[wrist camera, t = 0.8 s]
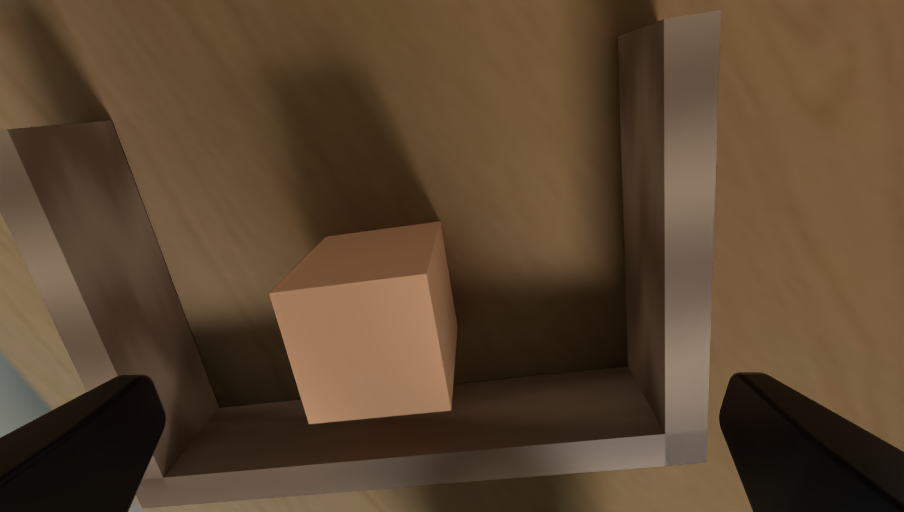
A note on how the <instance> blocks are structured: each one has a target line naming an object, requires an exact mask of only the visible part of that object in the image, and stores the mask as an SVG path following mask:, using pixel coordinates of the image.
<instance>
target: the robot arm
mask: <svg viewBox="0 0 904 512" xmlns="http://www.w3.org/2000/svg"><path fill="white" fill-rule="evenodd" d="M719 421H720V427H721V430H722V433H723V435H724V438H725V440H726V443H727V445H728V448H729V451H730V453H731V456H732V458H733V461H734V463H735V466H736V469H737V471H738V474H739V476H740V479H741V481H742V484H743V487H744V489H745V492H746V494H747V497H748V499H749V502H750V504H751V507H752V510H753V512H904V452H903V451H901V450H899V449H898V448H896V447H894V446H892V445H891V444H889V443H887V442H885V441H884V440H882V439H880V438H878V437H877V436H875V435H873V434H871V433H869V432H868V431H866V430H864V429H862V428H861V427H859V426H857V425H855V424H854V423H852V422H850V421H848V420H847V419H845V418H843V417H841V416H839V415H838V414H836V413H834V412H832V411H831V410H829V409H827V408H825V407H824V406H822V405H820V404H818V403H817V402H815V401H813V400H811V399H809V398H808V397H806V396H804V395H802V394H801V393H799V392H797V391H795V390H794V389H792V388H790V387H788V386H787V385H785V384H783V383H781V382H779V381H778V380H776V379H774V378H772V377H771V376H769V375H767V374H764V373H759V372H739V373H736V374H734V375H733V376H732V377H731V378H730V381H729V384H728V387H727V390H726V393H725V396H724V400H723V403H722V406H721V409H720V414H719ZM165 424H166V412H165V409H164V407H163V404H162V402H161V399H160V397H159V394H158V391H157V389H156V386H155V384H154V382H153V380H152V379H151V378H150V377H149V376H147V375H143V374H136V375H120V376H117V377H115V378H113V379H111V380H109V381H107V382H105V383H103V384H101V385H99V386H98V387H96V388H94V389H92V390H90V391H88V392H86V393H84V394H82V395H80V396H79V397H77V398H75V399H73V400H71V401H69V402H67V403H65V404H63V405H62V406H60V407H58V408H56V409H54V410H52V411H50V412H48V413H46V414H45V415H43V416H41V417H39V418H37V419H35V420H33V421H32V422H29V423H28V424H26V425H24V426H22V427H20V428H18V429H16V430H14V431H13V432H11V433H9V434H7V435H5V436H3V437H1V438H0V512H128V510H129V508H130V506H131V504H132V501H133V499H134V497H135V495H136V492H137V490H138V488H139V485H140V483H141V481H142V479H143V476H144V474H145V472H146V470H147V467H148V465H149V463H150V461H151V458H152V456H153V454H154V451H155V449H156V447H157V445H158V442H159V440H160V438H161V436H162V433H163V431H164V428H165Z"/></svg>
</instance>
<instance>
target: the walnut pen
mask: <svg viewBox="0 0 904 512" xmlns="http://www.w3.org/2000/svg"><path fill="white" fill-rule="evenodd" d="M720 28H721V10H716V11H710V12H704V13H698V14H692V15H686V16H680V17H674V18H668V19H663V20H661V21H658V22H655V23H652V24H650V25H647V26H644V27H641V28H639V29H636V30H633V31H630V32H628V33H625V34H622V35H619V36H617V38H618V69H619V99H620V130H621V161H622V191H623V222H624V252H625V283H626V314H627V344H628V367H618V368H608V369H598V370H588V371H578V372H568V373H558V374H548V375H539V376H529V377H519V378H509V379H499V380H489V381H479V382H469V383H459V384H453V394H452V408H451V411H441V412H431V413H421V414H410V415H400V416H389V417H379V418H368V419H358V420H348V421H337V422H327V423H316V424H309V423H308V420H307V417H306V413H305V410H304V407H303V403H302V400H291V401H281V402H271V403H261V404H251V405H242V406H232V407H222V408H219V406H218V403H217V400H216V398H215V395H214V392H213V390H212V387H211V384H210V382H209V379H208V376H207V374H206V371H205V368H204V366H203V363H202V360H201V358H200V355H199V352H198V350H197V347H196V344H195V342H194V339H193V336H192V334H191V331H190V328H189V326H188V323H187V320H186V318H185V315H184V312H183V310H182V307H181V304H180V302H179V299H178V296H177V294H176V291H175V288H174V286H173V283H172V280H171V278H170V275H169V272H168V270H167V267H166V264H165V262H164V259H163V256H162V254H161V251H160V248H159V246H158V243H157V240H156V238H155V235H154V232H153V229H152V227H151V224H150V221H149V219H148V216H147V213H146V211H145V208H144V205H143V203H142V200H141V197H140V195H139V192H138V189H137V187H136V184H135V181H134V179H133V176H132V173H131V171H130V168H129V165H128V163H127V160H126V157H125V155H124V152H123V149H122V147H121V144H120V141H119V139H118V136H117V133H116V131H115V128H114V125H113V123H112V120H109V121H97V122H86V123H75V124H64V125H52V126H41V127H30V128H19V129H7V130H1V131H0V211H1V214H2V216H3V218H4V220H5V222H6V224H7V226H8V228H9V230H10V232H11V234H12V237H13V239H14V241H15V243H16V245H17V247H18V249H19V251H20V253H21V255H22V257H23V259H24V262H25V264H26V266H27V268H28V270H29V272H30V274H31V276H32V278H33V280H34V282H35V285H36V287H37V289H38V291H39V293H40V295H41V297H42V299H43V301H44V303H45V305H46V308H47V310H48V312H49V314H50V316H51V318H52V320H53V322H54V324H55V326H56V328H57V330H58V333H59V335H60V337H61V339H62V341H63V343H64V345H65V347H66V349H67V351H68V353H69V356H70V358H71V360H72V362H73V364H74V366H75V368H76V370H77V372H78V374H79V376H80V379H81V381H82V383H83V385H84V387H85V389H86V391H87V392H88V391H90V390H92V389H94V388H96V387H98V386H99V385H101V384H103V383H105V382H107V381H109V380H111V379H113V378H115V377H117V376H120V375H136V374H143V375H147V376H149V377H150V378H151V379H152V380H153V382H154V384H155V386H156V389H157V391H158V394H159V397H160V399H161V402H162V404H163V407H164V409H165V412H166V424H165V428H164V431H163V433H162V436H161V438H160V440H159V442H158V445H157V447H156V449H155V451H154V454H153V456H152V458H151V461H150V463H149V465H148V467H147V470H146V472H145V474H144V476H143V479H142V481H141V483H140V485H139V488H138V490H137V492H136V495H137V498H138V500H139V502H140V504H141V506H142V508H152V507H164V506H177V505H189V504H201V503H214V502H226V501H239V500H251V499H263V498H276V497H288V496H300V495H313V494H325V493H337V492H350V491H362V490H374V489H387V488H399V487H412V486H424V485H436V484H449V483H461V482H473V481H486V480H498V479H510V478H523V477H535V476H547V475H560V474H572V473H584V472H597V471H609V470H622V469H634V468H646V467H659V466H671V465H683V464H696V463H706V455H707V424H708V394H709V364H710V333H711V303H712V272H713V242H714V211H715V181H716V150H717V120H718V89H719V59H720Z"/></svg>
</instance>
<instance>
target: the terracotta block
mask: <svg viewBox="0 0 904 512" xmlns="http://www.w3.org/2000/svg"><path fill="white" fill-rule="evenodd" d="M269 295H270V298H271V301H272V305H273V308H274V311H275V315H276V318H277V321H278V324H279V328H280V331H281V334H282V338H283V341H284V344H285V348H286V351H287V354H288V357H289V361H290V364H291V367H292V371H293V374H294V377H295V380H296V384H297V387H298V390H299V394H300V397H301V400H302V403H303V407H304V410H305V413H306V417H307V420H308V423H309V424H316V423H327V422H337V421H348V420H358V419H368V418H379V417H389V416H400V415H410V414H421V413H431V412H441V411H451V408H452V394H453V381H454V368H455V355H456V341H457V328H458V326H457V320H456V314H455V307H454V301H453V295H452V289H451V283H450V277H449V271H448V265H447V259H446V253H445V247H444V241H443V235H442V229H441V223H440V221H439V222H431V223H424V224H416V225H409V226H401V227H394V228H386V229H379V230H372V231H364V232H357V233H349V234H342V235H334V236H327V237H325V238H324V239H323V240H322V241H321V242H320V243H319V244H318V245H317V246H316V247H315V248H314V249H313V250H312V251H311V252H310V253H309V254H308V255H307V256H306V257H305V258H304V259H303V260H302V261H301V262H300V263H299V264H298V265H297V266H296V267H295V268H294V269H293V270H292V271H291V272H290V273H289V274H288V275H287V276H286V277H285V278H284V279H283V280H282V281H281V282H280V283H279V284H278V285H277V286H276V287H275V288H274V289H273V290H272V291H271V292H270V293H269Z"/></svg>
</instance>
